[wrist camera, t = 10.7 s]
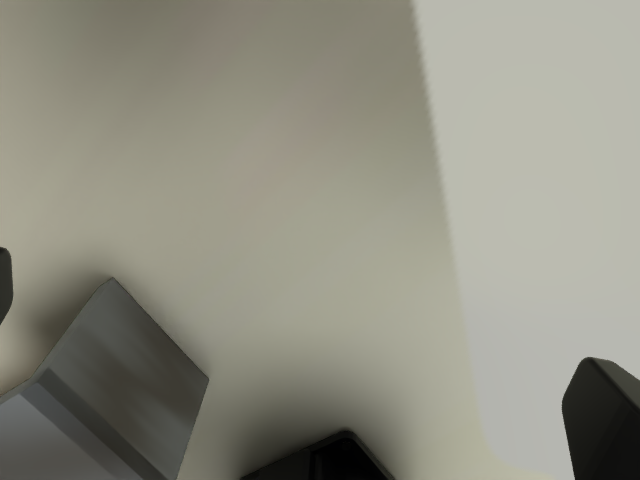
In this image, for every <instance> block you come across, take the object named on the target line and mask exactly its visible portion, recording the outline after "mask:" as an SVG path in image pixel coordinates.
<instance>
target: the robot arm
mask: <svg viewBox="0 0 640 480" xmlns="http://www.w3.org/2000/svg"><path fill="white" fill-rule="evenodd" d="M12 301H13V280H12V262H11V255H10V253H9V251H8V250H7V249H6V248H3V247H0V325H1V323H2V321H3V320H4V318H5V316H6V315H7V313H8V311H9V309H10V307H11V304H12ZM562 414H563V419H564V425H565V430H566V435H567V440H568V446H569V451H570V456H571V461H572V466H573V472H574V477H575V480H640V380H638V379H637V378H635V377H634V376H633V375H631V374H630V373H628V372H627V371H625V370H624V369H623V368H621V367H620V366H619V365H617V364H616V363H614V362H612V361H609V360H604V359H598V358H593V357H587V358H584V359H583V360H582V361H581V362H580V364H579V365H578V367H577V369H576V372H575V374H574V375H573V378H572V379H571V381H570V384H569V386H568V388H567V390H566V392H565V394H564V397H563V400H562ZM343 442H349V443H347V444H346V443H343ZM240 480H394V479H393V478H392V477H391V476H390V474H389V473H388V472H387V471H386V470H385V468H384V467H383V466H382V465H381V464H380V463H379V461H378V460H377V459H376V458H375V457H374V456H373V454H372V453H371V452H370V451H369V450H368V448H367V447H366V446H365V445H364V444H363V443H362V441H361V440H360V439H359V438H358V437H357V436H356V435H355V434H354V433H353V432H350V431H342V432H339V433H337V434H335V435H333V436H331V437H328V438H326V439H324V440H322V441H320V442H318V443H316V444H314V445H311V446H309V447H307V448H305V449H303V450H301V451H299V452H297V453H295V454H292V455H290V456H288V457H286V458H284V459H282V460H280V461H278V462H275V463H273V464H271V465H269V466H267V467H265V468H263V469H261V470H258V471H256V472H254V473H252V474H250V475H248V476H246V477H244V478H242V479H240Z"/></svg>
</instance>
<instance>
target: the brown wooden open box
mask: <svg viewBox="0 0 640 480" xmlns="http://www.w3.org/2000/svg"><path fill="white" fill-rule="evenodd" d="M208 382H209V379H208V378H207V377H206V376H205V375H204V374H203V373H202V372H201V371H200V370H199V369H198V368H197V367H196V366H195V364H194V363H193V362H192V361H191V360H190V359H189V358H188V357H187V356H186V355H185V354H184V353H183V352H182V351H181V350H180V348H179V347H178V346H177V345H176V344H175V343H174V342H173V341H172V340H171V339H170V338H169V337H168V336H167V335H166V334H165V332H164V331H163V330H162V329H161V328H160V327H159V326H158V325H157V324H156V323H155V322H154V321H153V320H152V319H151V318H150V317H149V315H148V314H147V313H146V312H145V311H144V310H143V309H142V308H141V307H140V306H139V305H138V304H137V303H136V302H135V301H134V299H133V298H132V297H131V296H130V295H129V294H128V293H127V292H126V291H125V290H124V289H123V288H122V287H121V286H120V285H119V283H118V282H117V281H116V280H115V279H114V278H112V279H110V280H109V281H107V282H106V283H104V284H103V285H101V286H100V287H98V289H97V290H96V291H95V293H94V294H93V295H92V297H91V298H90V299H89V301H88V302H87V303H86V305H85V306H84V307H83V309H82V310H81V311H80V313H79V314H78V315H77V317H76V318H75V319H74V321H73V322H72V323H71V325H70V326H69V327H68V329H67V330H66V331H65V333H64V334H63V335H62V337H61V338H60V339H59V341H58V342H57V343H56V345H55V346H54V347H53V349H52V350H51V351H50V353H49V354H48V355H47V357H46V358H45V359H44V361H43V362H42V363H41V365H40V366H39V367H38V369H37V370H36V371H35V373H34V374H33V375H32V377H31V378H30V379H28V380H27V381H25V382H23V383H22V384H20V385H18V386H17V387H15V388H14V389H12V390H10V391H9V392H7V393H5V394H4V395H2V396H1V397H0V480H176V478H177V475H178V472H179V469H180V466H181V463H182V460H183V457H184V454H185V451H186V448H187V445H188V442H189V439H190V436H191V433H192V430H193V427H194V424H195V421H196V418H197V415H198V412H199V409H200V406H201V403H202V400H203V397H204V394H205V391H206V388H207V385H208Z"/></svg>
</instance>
